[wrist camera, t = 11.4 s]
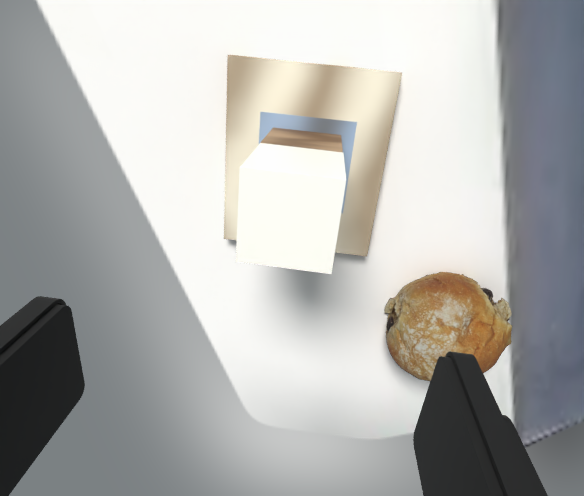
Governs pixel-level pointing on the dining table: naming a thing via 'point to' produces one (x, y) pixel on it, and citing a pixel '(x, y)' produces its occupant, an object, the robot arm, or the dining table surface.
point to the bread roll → (445, 323)
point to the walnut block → (304, 139)
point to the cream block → (290, 207)
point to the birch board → (313, 128)
